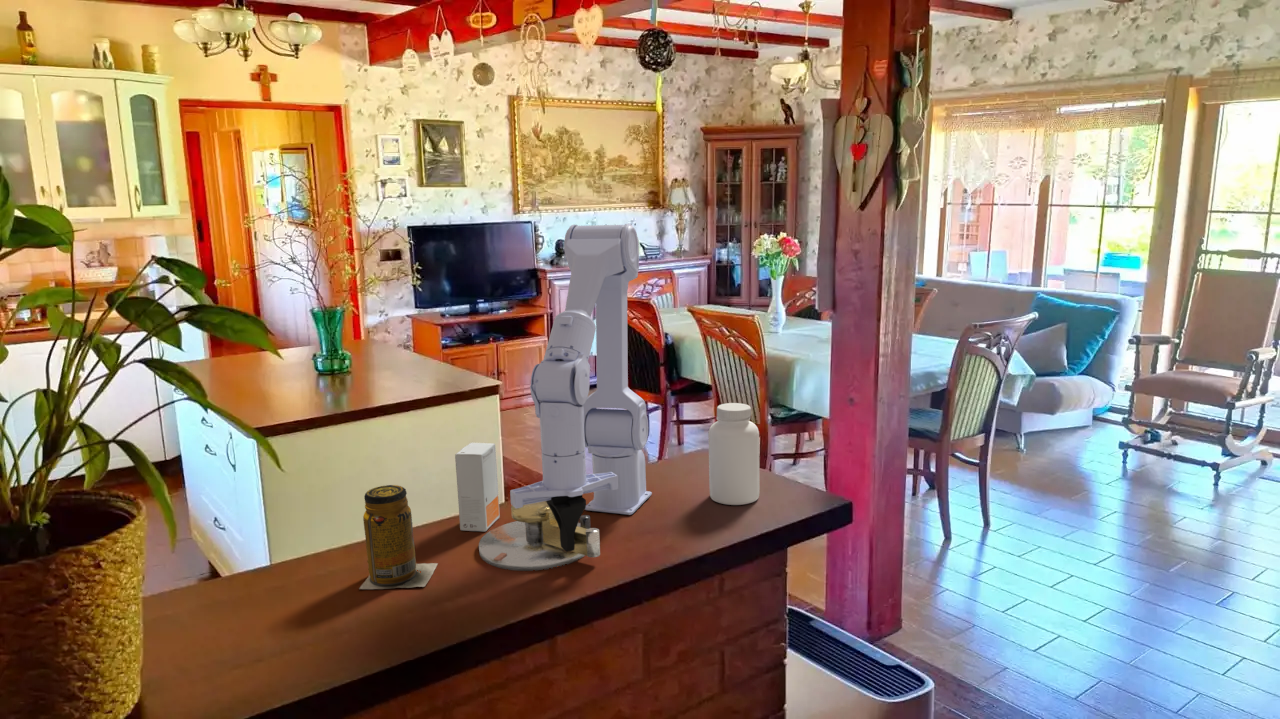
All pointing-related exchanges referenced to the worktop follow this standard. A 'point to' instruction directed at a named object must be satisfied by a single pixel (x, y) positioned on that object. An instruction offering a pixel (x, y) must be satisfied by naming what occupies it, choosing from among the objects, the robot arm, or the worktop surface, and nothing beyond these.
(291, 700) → the worktop surface
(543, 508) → the brass latch lever
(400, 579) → the condiment
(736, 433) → the pill bottle
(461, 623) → the worktop surface
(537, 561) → the grey round base plate
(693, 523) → the worktop surface
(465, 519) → the skincare box
